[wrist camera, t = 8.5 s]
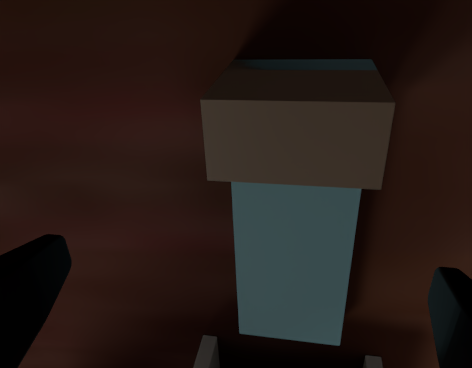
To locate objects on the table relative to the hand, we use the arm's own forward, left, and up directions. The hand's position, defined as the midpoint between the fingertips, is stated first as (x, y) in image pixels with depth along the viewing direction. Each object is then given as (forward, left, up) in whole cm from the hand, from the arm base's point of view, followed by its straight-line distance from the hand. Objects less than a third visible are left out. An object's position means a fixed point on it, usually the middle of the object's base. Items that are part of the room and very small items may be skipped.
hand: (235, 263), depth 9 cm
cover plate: (-5, -1, -11) cm, 12 cm away
